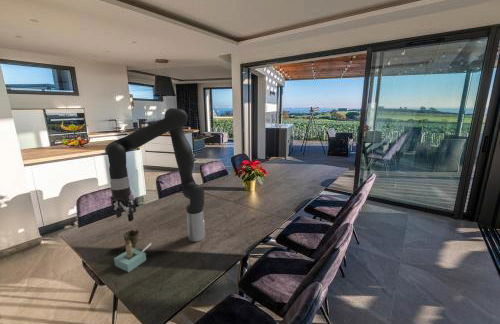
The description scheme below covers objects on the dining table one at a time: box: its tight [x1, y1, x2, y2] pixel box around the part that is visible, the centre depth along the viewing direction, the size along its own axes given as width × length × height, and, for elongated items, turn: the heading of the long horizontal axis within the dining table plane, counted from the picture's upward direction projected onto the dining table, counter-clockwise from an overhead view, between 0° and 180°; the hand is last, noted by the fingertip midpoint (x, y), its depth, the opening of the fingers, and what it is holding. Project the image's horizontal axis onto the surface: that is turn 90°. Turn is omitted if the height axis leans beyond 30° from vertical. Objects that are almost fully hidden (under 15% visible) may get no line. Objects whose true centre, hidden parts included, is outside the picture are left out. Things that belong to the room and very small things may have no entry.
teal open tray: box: [113, 247, 147, 273], centre depth 116 cm, size 10×10×4 cm
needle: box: [124, 240, 133, 260], centre depth 115 cm, size 3×3×12 cm
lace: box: [141, 242, 152, 253], centre depth 127 cm, size 10×1×1 cm, turn 168°
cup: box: [122, 229, 139, 248], centre depth 130 cm, size 8×7×8 cm
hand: (125, 218), depth 111 cm, fingers open, 8 cm apart
